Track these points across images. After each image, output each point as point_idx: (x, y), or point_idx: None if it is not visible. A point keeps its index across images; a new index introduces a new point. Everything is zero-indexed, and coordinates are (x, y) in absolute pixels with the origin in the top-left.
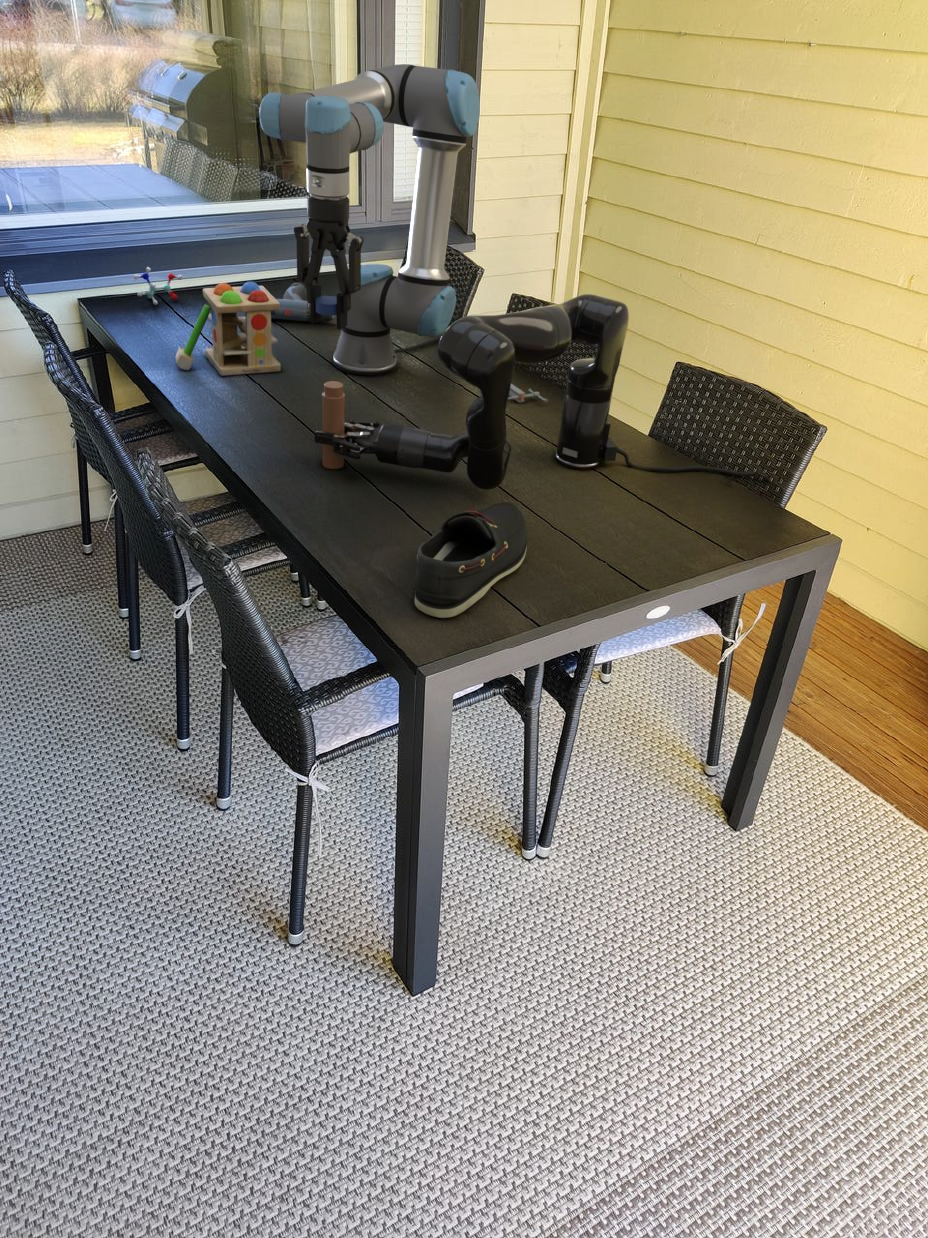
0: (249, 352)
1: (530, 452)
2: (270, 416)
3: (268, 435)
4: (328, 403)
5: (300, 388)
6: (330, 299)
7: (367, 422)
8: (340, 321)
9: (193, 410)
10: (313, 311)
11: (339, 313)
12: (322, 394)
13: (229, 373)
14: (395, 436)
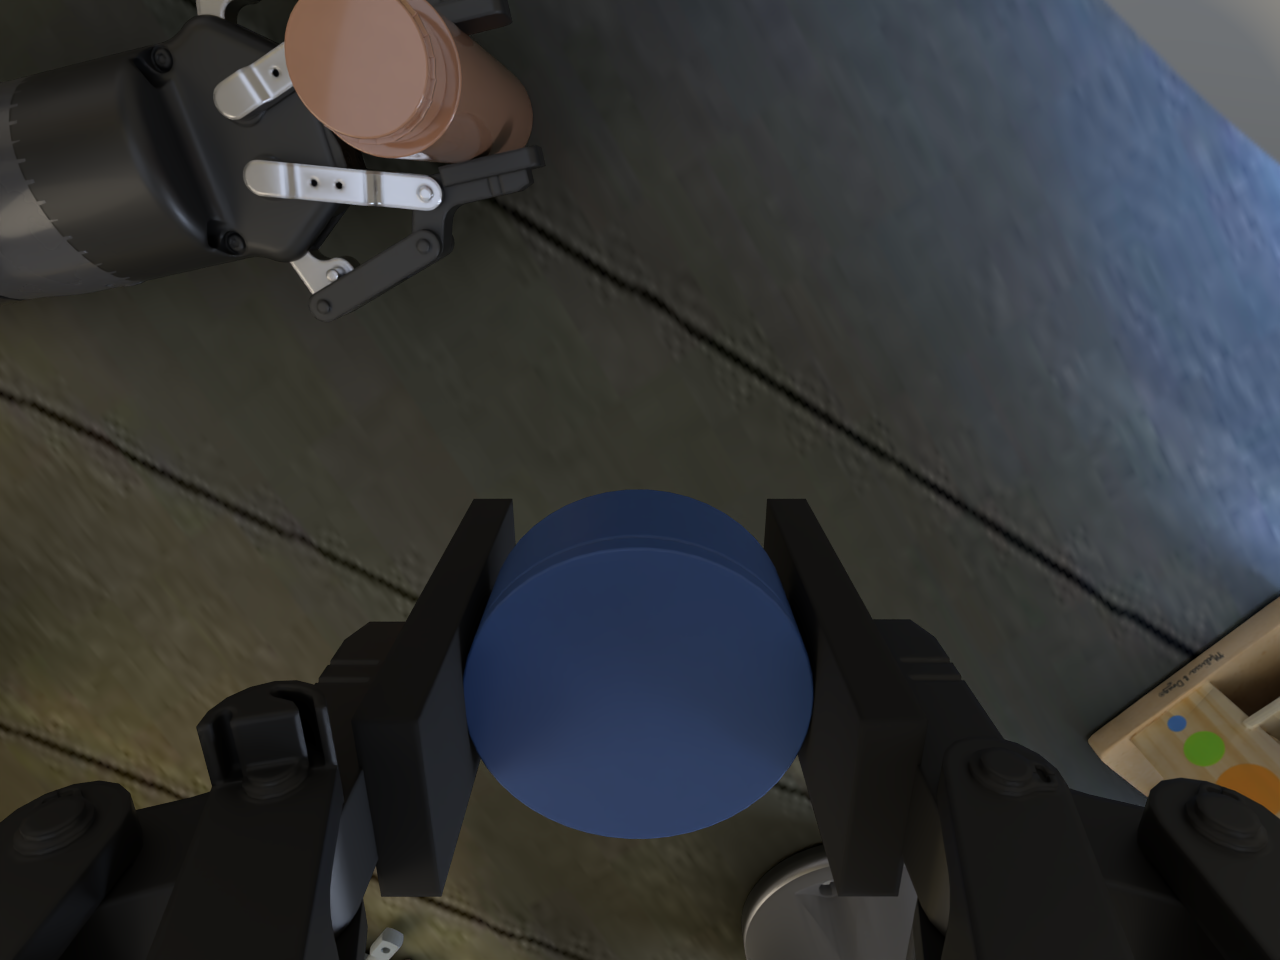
0: (1247, 723)
1: (8, 637)
2: (945, 384)
3: (866, 213)
4: None
5: (956, 659)
6: (634, 733)
7: (356, 276)
8: (456, 537)
9: (1272, 248)
10: (795, 549)
11: (440, 570)
12: (436, 13)
13: (1260, 616)
14: (37, 98)
